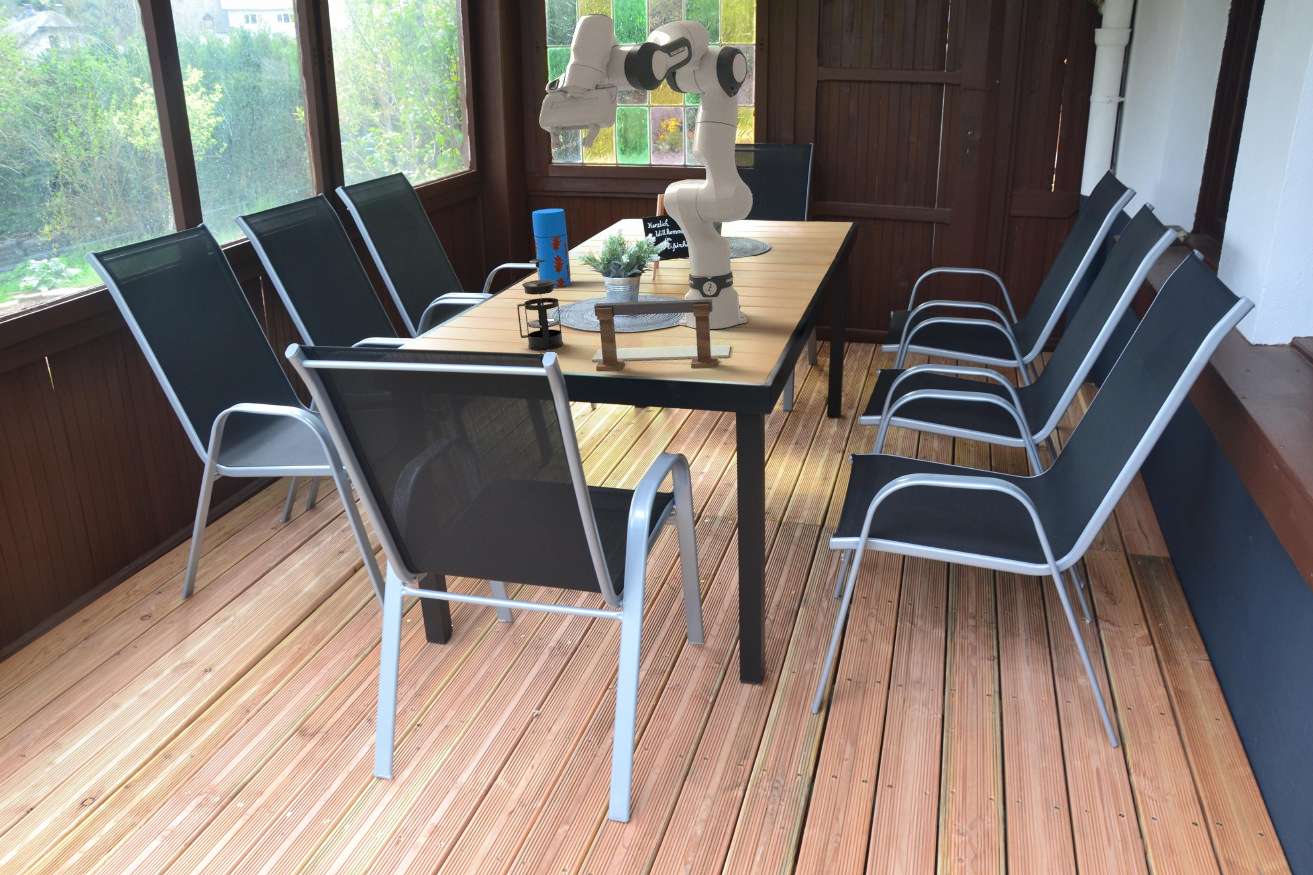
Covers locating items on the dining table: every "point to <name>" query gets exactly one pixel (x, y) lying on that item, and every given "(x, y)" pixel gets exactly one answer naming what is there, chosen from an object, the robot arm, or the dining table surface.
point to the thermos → (552, 246)
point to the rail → (653, 307)
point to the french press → (541, 314)
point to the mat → (663, 353)
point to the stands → (613, 363)
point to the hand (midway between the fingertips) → (570, 148)
